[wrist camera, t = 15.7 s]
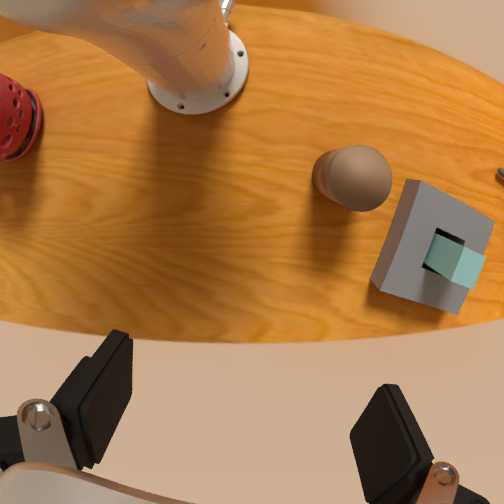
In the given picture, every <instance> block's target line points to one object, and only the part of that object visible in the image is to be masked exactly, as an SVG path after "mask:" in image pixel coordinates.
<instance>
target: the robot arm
mask: <svg viewBox="0 0 504 504" xmlns="http://www.w3.org/2000/svg"><path fill="white" fill-rule="evenodd" d="M235 3H236V2H235V1H234V0H220V1H219V0H0V14H1V15H2V16H4V17H6V18H7V19H9V20H11V21H12V22H15V23H17V24H20V25H23V26H26V27H28V28H31V29H35V30H39V31H44V32H48V33H54V34H59V35H65V36H71V37H76V38H79V39H83V40H85V41H88V42H90V43H92V44H94V45H96V46H98V47H100V48H102V49H103V50H105V51H107V52H108V53H110V54H111V55H113V56H115V57H116V58H117V59H119V60H120V61H122V62H123V63H125V64H126V65H128V66H129V67H131V68H132V69H134V70H135V71H137V72H138V73H139V74H141V75H142V76H144V77H145V78H147V84H148V87H149V90H150V92H151V93H152V95H153V97H154V98H155V99H156V100H157V101H158V102H159V103H160V104H161V105H162V106H164V107H165V108H167V109H169V110H171V111H173V112H176V113H180V114H184V115H200V114H205V113H209V112H213V111H215V110H217V109H219V108H221V107H223V106H224V105H226V104H227V103H229V102H230V101H231V100H232V99H233V98H234V97H235V96H236V95H237V94H238V93H239V91H240V90H241V89H242V87H243V85H244V83H245V81H246V79H247V75H248V71H249V59H248V53H247V50H246V47H245V45H244V44H243V42H242V41H241V39H240V38H239V37H238V36H237V35H236V34H235V33H234V32H232V31H231V30H229V29H228V25H229V23H230V22H229V21H228V20H227V19H228V17H229V15H230V14H231V13H232V10H233V8H234V6H235ZM240 55H243V56H242V57H239V56H240ZM226 94H229V97H225V95H226ZM182 106H184V109H181V107H182ZM132 359H133V339H131V338H129V334H128V333H125V332H121V331H118V330H115V329H113V330H112V331H111V332H110V334H109V335H108V336H107V338H106V339H105V340H104V342H103V343H102V344H101V345H100V347H99V348H98V349H97V351H96V352H95V353H94V354H93V356H92V357H88V356H85V357H84V358H83V359H82V360H81V361H80V362H79V363H78V365H77V366H76V367H75V369H74V370H73V371H72V372H71V374H70V375H69V376H68V378H67V379H66V380H65V382H64V383H63V384H62V386H61V387H60V388H59V390H58V391H57V392H56V394H55V395H54V396H53V398H52V399H51V400H50V402H48V401H46V400H42V399H31V400H28V401H26V402H24V403H23V404H22V405H21V406H20V407H19V409H18V411H17V415H15V416H8V417H0V504H194V503H189V502H185V501H180V500H176V499H172V498H168V497H164V496H159V495H156V494H152V493H149V492H145V491H142V490H138V489H135V488H131V487H128V486H125V485H122V484H119V483H116V482H113V481H110V480H107V479H104V478H101V477H98V476H95V475H93V474H90V473H86V472H83V471H81V470H82V469H83V467H84V466H85V467H88V468H90V469H92V468H93V466H94V463H97V464H99V463H100V462H101V460H102V458H103V455H104V453H105V451H106V449H107V446H108V444H109V442H110V440H111V438H112V436H113V434H114V432H115V430H116V427H117V425H118V423H119V421H120V419H121V417H122V415H123V413H124V411H125V408H126V407H127V405H128V402H129V400H130V398H131V395H132V361H133V360H132ZM350 441H351V445H352V449H353V453H354V456H355V460H356V464H357V467H358V472H359V476H360V479H361V484H362V488H363V492H364V496H365V500H366V502H367V503H369V504H490V503H489V501H488V500H487V499H486V498H484V497H482V496H481V495H479V494H476V493H475V492H473V491H471V490H469V489H467V488H465V487H463V486H461V485H459V474H458V472H457V470H456V469H455V468H454V467H453V466H452V465H451V464H449V463H446V462H436V463H435V464H433V463H432V460H433V459H434V456H433V454H432V452H431V450H430V448H429V446H428V444H427V441H426V439H425V438H424V435H423V433H422V431H421V429H420V427H419V425H418V423H417V421H416V419H415V417H414V415H413V413H412V411H411V409H410V407H409V405H408V403H407V401H406V399H405V397H404V395H403V393H402V392H401V390H400V388H399V386H398V385H396V384H383V385H382V386H381V387H379V388H378V389H377V390H376V392H375V393H374V395H373V397H372V398H371V400H370V402H369V403H368V405H367V407H366V408H365V410H364V412H363V413H362V415H361V416H360V418H359V419H358V421H357V422H356V424H355V425H354V427H353V428H352V430H351V432H350Z"/></svg>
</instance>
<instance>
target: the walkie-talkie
mask: <svg viewBox="0 0 504 504" xmlns="http://www.w3.org/2000/svg"><path fill="white" fill-rule="evenodd" d="M498 173H499V174H500V175H501V176H502V177H503V178H504V170H503V169H502V168H499V169H498Z"/></svg>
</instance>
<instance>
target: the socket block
mask: <svg viewBox="0 0 504 504" xmlns="http://www.w3.org/2000/svg"><path fill="white" fill-rule="evenodd" d="M494 223H495V221H493V220H492V219H490V218H488V217H487V216H485V215H483V214H482V213H480V212H478V211H477V210H475V209H473V208H471V207H470V206H468V205H466V204H464V203H463V202H461V201H459V200H457V199H455V198H454V197H452V196H450V195H448V194H446V193H444V192H442V191H440V190H438V189H437V188H435V187H433V186H431V185H429V184H427V183H425V182H423V181H420V180H412V179H406V182H405V186H404V189H403V192H402V195H401V198H400V201H399V204H398V207H397V210H396V213H395V215H394V218H393V221H392V224H391V227H390V229H389V232H388V235H387V238H386V240H385V243H384V245H383V248H382V251H381V253H380V256H379V258H378V261H377V263H376V266H375V268H374V271H373V273H372V275H371V278H370V280H371V281H372V282H373V283H374V285H375V286H376V287H377V288H378V289H379V290H380V291H382V292H386V293H389V294H392V295H395V296H399V297H402V298H405V299H409V300H412V301H415V302H418V303H422V304H425V305H428V306H431V307H435V308H438V309H441V310H444V311H448V312H451V313H454V314H458V312H459V310H460V308H461V306H462V304H463V302H464V300H465V298H466V296H467V293H468V291H469V289H470V288H467V287H465V286H462V285H459V284H457V283H454V282H452V281H450V280H448V279H447V278H445V277H444V276H443V275H441V274H440V273H438V272H437V271H435V270H434V269H432V268H431V267H429V266H426V265H423V262H424V259H425V257H426V254H427V252H428V249H429V247H430V244H431V241H432V239H433V236H434V233H435V230H436V228H438V229H440V230H442V231H445V232H447V233H449V234H450V236H449V240H451V241H454V242H456V243H458V244H460V245H462V246H464V247H466V248H468V249H470V250H472V251H474V252H476V253H478V254H480V255H482V256H483V255H484V252H485V249H486V246H487V244H488V241H489V238H490V235H491V232H492V229H493V226H494Z"/></svg>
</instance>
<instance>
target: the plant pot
mask: <svg viewBox="0 0 504 504" xmlns="http://www.w3.org/2000/svg"><path fill="white" fill-rule="evenodd" d="M41 119H42V108H41V103H40V100H39V97H38V96H37V94H36V93H35V92H34V91H33V90H32V89H30V88H25V87H22V86H21V85H20V84H19V83H17V82H16V81H15V80H13V79H11V78H9V77H7V76H5V75H3V74H0V161H1V160H5V161H14V160H17V159H19V158H21V157H22V156H23V155H24V154H26V153H27V152H28V150H29V149H30V148H31V146H32V145H33V143H34V141H35V140H36V137H37V135H38V132H39V129H40V125H41Z"/></svg>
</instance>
